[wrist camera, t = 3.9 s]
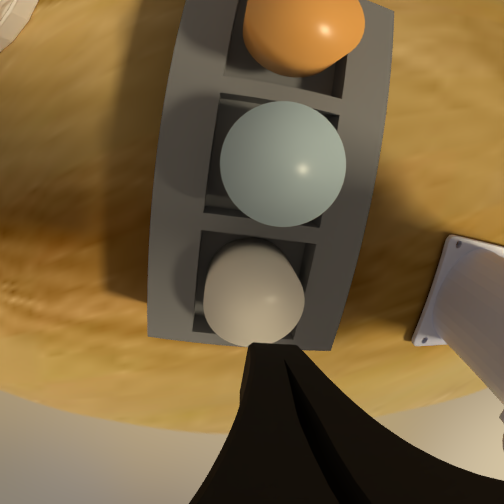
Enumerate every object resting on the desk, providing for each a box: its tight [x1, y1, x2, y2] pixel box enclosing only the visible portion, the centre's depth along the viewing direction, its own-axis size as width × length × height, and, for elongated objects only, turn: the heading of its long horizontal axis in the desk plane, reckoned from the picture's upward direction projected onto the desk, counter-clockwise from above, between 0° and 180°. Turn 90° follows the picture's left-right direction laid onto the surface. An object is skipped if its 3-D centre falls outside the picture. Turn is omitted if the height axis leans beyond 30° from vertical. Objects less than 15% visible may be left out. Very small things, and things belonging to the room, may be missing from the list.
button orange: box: [243, 0, 365, 78], centre depth 9 cm, size 4×4×3 cm
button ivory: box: [203, 238, 305, 347], centre depth 13 cm, size 4×4×3 cm
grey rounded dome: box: [220, 101, 346, 227], centre depth 11 cm, size 4×4×3 cm
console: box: [147, 0, 394, 351], centre depth 13 cm, size 9×17×3 cm, turn 171°
